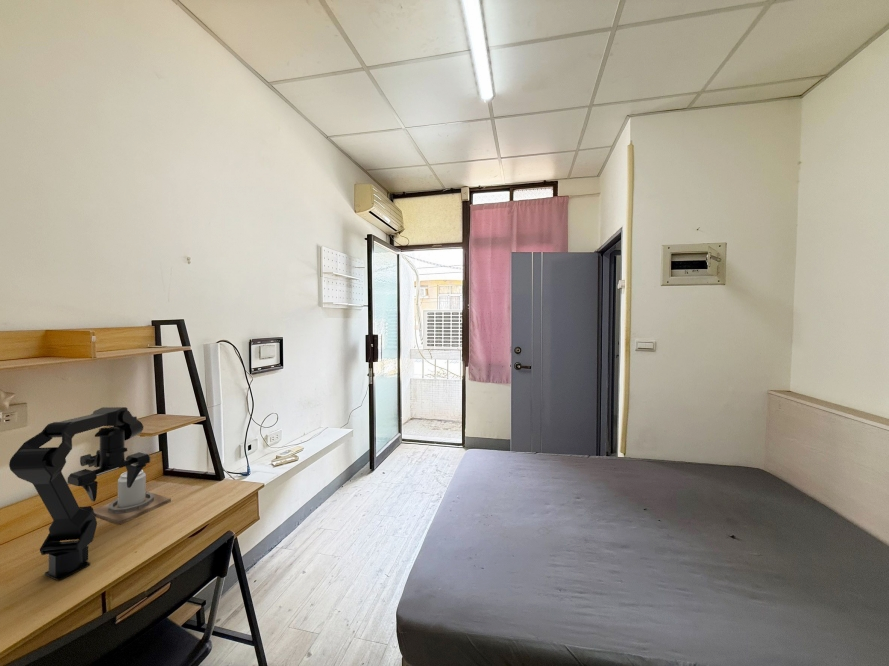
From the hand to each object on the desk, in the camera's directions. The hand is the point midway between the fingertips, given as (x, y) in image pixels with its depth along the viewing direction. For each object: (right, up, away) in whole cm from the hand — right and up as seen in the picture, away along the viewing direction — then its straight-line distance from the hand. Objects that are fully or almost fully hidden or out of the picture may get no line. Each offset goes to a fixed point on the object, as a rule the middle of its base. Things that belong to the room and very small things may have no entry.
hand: (111, 494), depth 109 cm
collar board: (-8, -12, +15) cm, 21 cm away
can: (-7, -11, +15) cm, 20 cm away
